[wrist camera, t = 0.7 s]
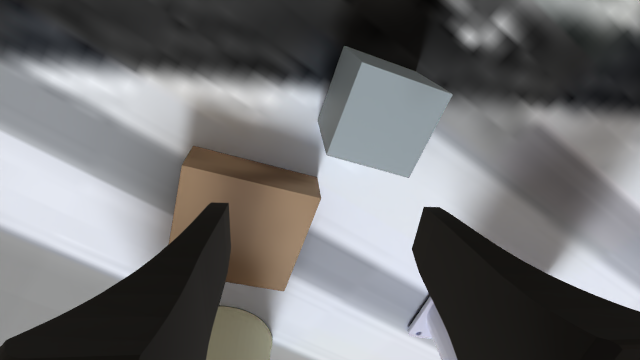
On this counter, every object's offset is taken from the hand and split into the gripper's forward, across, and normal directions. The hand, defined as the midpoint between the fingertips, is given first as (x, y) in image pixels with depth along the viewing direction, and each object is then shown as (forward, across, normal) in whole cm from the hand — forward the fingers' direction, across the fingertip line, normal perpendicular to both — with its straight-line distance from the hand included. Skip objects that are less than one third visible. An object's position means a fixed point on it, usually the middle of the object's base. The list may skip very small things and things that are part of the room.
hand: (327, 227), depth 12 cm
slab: (+10, +4, +6) cm, 12 cm away
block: (+10, -3, -2) cm, 10 cm away
